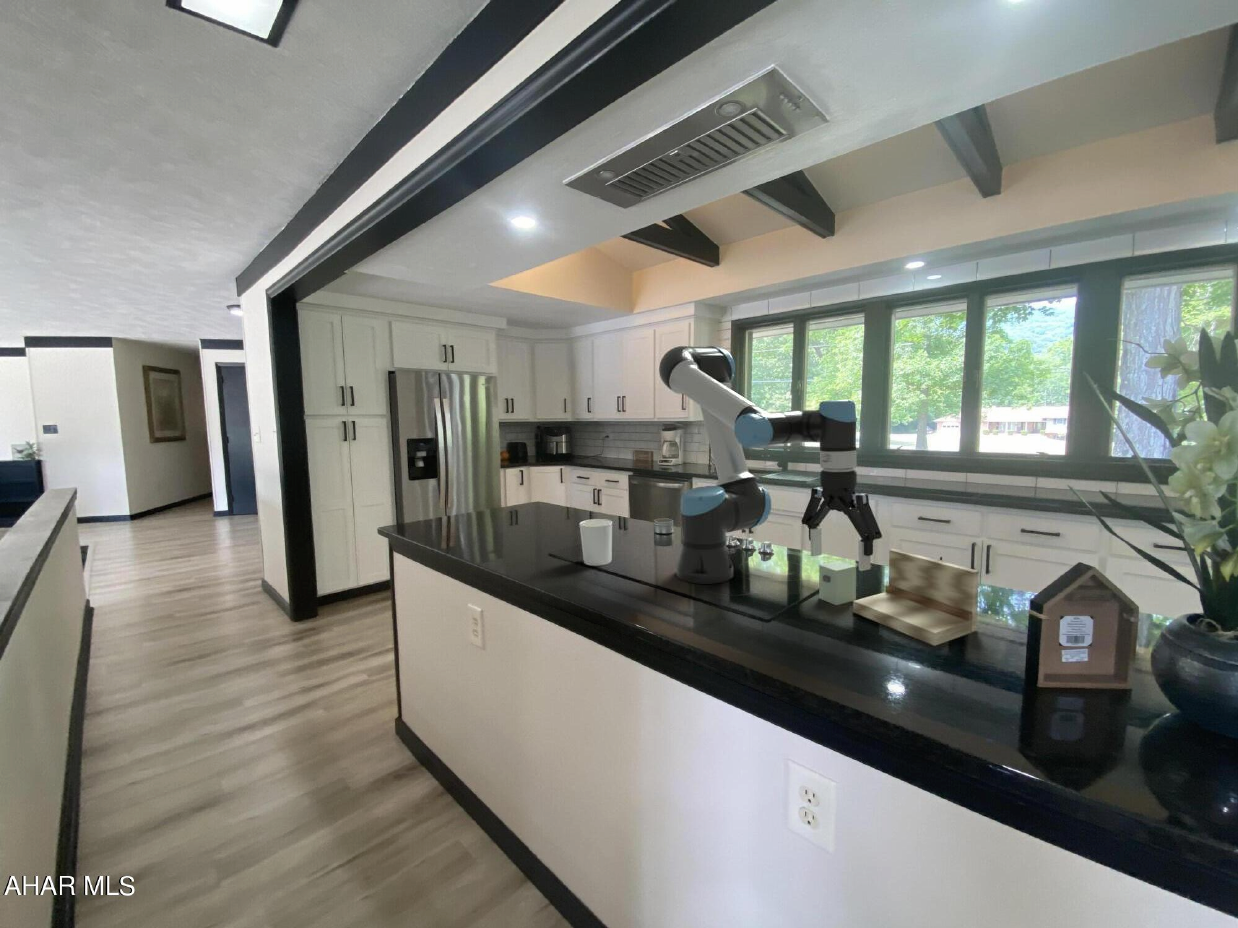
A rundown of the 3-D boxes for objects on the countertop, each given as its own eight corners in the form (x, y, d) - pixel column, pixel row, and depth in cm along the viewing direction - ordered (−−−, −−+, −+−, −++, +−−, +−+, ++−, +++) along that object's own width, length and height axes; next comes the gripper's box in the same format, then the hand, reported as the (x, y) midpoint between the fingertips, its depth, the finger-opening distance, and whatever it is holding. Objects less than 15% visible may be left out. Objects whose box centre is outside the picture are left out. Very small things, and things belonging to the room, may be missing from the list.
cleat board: (853, 612, 111) (853, 557, 110) (892, 600, 116) (893, 548, 115) (934, 645, 95) (936, 582, 94) (976, 630, 100) (978, 570, 99)
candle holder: (577, 566, 151) (575, 526, 150) (585, 556, 161) (583, 518, 159) (610, 566, 150) (608, 526, 148) (616, 556, 159) (614, 518, 158)
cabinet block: (816, 598, 119) (816, 565, 119) (838, 593, 122) (838, 560, 121) (833, 606, 115) (834, 571, 114) (855, 600, 118) (856, 566, 117)
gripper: (785, 466, 125) (787, 552, 127) (875, 475, 102) (875, 579, 105) (808, 464, 128) (810, 547, 130) (900, 472, 106) (900, 573, 108)
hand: (839, 562), depth 117 cm, fingers open, 13 cm apart
